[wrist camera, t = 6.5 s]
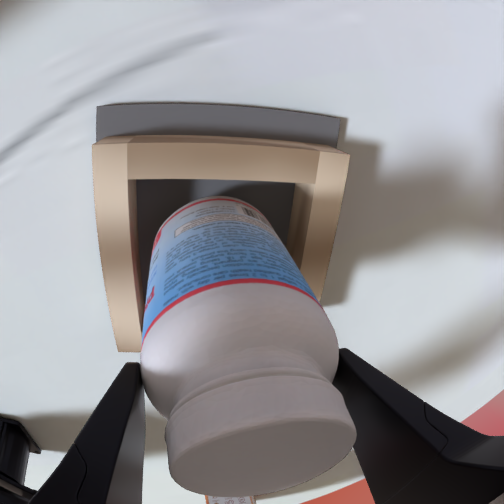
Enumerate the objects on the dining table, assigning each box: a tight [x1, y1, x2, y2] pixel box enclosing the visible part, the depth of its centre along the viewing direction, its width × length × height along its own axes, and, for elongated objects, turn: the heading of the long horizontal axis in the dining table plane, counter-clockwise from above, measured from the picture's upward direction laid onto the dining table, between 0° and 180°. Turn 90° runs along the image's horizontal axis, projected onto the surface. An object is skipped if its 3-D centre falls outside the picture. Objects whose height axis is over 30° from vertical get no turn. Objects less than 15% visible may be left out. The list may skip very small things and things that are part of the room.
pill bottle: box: [140, 196, 357, 497], centre depth 11 cm, size 6×6×11 cm
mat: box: [96, 104, 340, 304], centre depth 17 cm, size 14×12×1 cm
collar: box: [92, 135, 350, 352], centre depth 16 cm, size 11×11×2 cm
